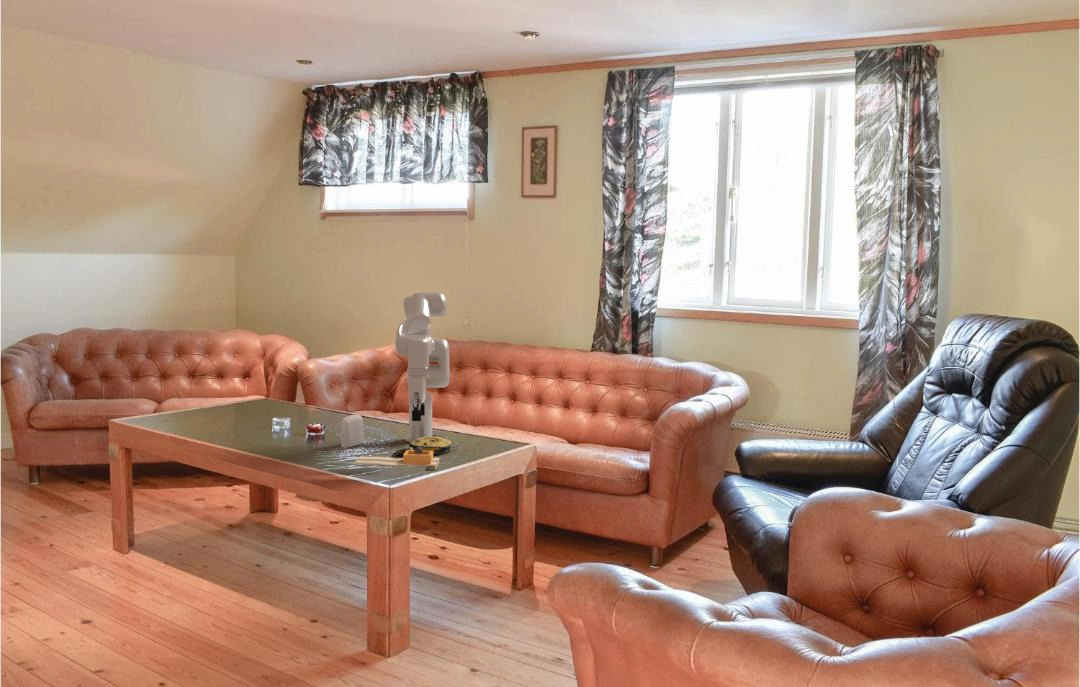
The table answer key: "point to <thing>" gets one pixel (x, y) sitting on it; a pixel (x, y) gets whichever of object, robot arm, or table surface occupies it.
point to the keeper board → (395, 461)
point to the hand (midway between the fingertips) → (418, 418)
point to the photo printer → (351, 431)
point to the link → (417, 457)
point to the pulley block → (428, 445)
